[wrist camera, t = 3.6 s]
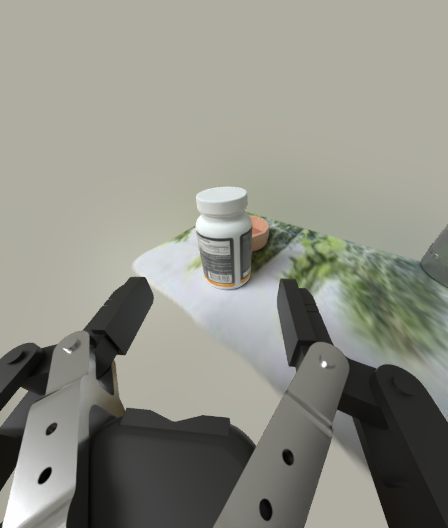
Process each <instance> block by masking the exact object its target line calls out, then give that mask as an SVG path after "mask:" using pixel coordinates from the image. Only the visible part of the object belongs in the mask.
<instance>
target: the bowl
mask: <svg viewBox="0 0 448 528" xmlns="http://www.w3.org/2000/svg"><path fill="white" fill-rule="evenodd" d="M249 216H250V215H249ZM250 218H251V220H252V252H255V251H257V250H260V249H261V248H263V247H264V246H265V245H266V243H267V239H268V236H269V225H268V223H267V221H266V220H264V219H262V218H259V217H257V216H250Z"/></svg>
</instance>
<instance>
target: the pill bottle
mask: <svg viewBox="0 0 448 528" xmlns="http://www.w3.org/2000/svg"><path fill="white" fill-rule="evenodd" d="M196 201H197V208H198V210H199V212H200V213H201V216H199V218H198V219H197V222H196V232H197V238H198V243H199V248H200V254H201V259H202V264H203V270H204V275H205V278H206V280H207V282H208V283H209V284H210V285H212V286H213V287H215V288H218V289H224V290H228V289H235V288H238V287H240V286H242V285H243V284H245V283H246V282H247V281H248V279H249V278H250V274H251V256H252V220H251V218H250V216H249V215H248V214H247V213H246V212H245V209H246V207H247V203H248V202H247V192H246V190H244V189H242V188H238V187H217V188H212V189H207V190H204V191H202V192H200V193H198V194H197V196H196Z"/></svg>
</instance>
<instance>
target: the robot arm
mask: <svg viewBox="0 0 448 528" xmlns="http://www.w3.org/2000/svg"><path fill="white" fill-rule="evenodd" d="M421 265H422V268H423V269H424V270H425V271H426V273H428V274H429V275H430V276H431V277H432V278H434V279H435V280H437V281H438V282H440V283H441V284H443V285H445V286H447V287H448V224H447V226H446V227H445V229H444V230H443V231H442V233H441V234H440V235H439V237H438V238H437V239H436V240H435V242H434V243H432V245H431V246H430V248H429V249H428V251H427V252H426V254H425V255H424V256H423V258H422V259H421ZM153 299H154V297H153V293H152V291H151V288H150V286H149V284H148V282H147V279H146V278H145V277H130V278H129V279H128V281H127V282H126V283H125V284H124V285H122V286H121V287H119V288H118V289H117V290H115V292H113V294H112V295H111V296H110V297H109V300H107V301H106V302H105V304H104V306H102V307H101V308H100V310H99V311H98V312H97V313H96V315H95V316H94V317H93V319H92V320H91V321H90V322H89V323H88V325H87V326H86V327H85V328H84V329H83V331H78V332H74V333H72V334H70V335H68V336H67V337H65V338H64V339H63V340H62V341H60V343H58V344H57V345H52V346H48V347H45V348H40V347H39V346H37V345H36V344H34V343H26V344H22V345H20V346H18V347H16V348H14V349H12V350H11V351H9V352H8V353H7V354H6V355H4V356H3V357H2V358H1V359H0V411H1V410H2V408H3V407H4V406H5V405H6V404H7V402H8V401H9V400H10V399H11V397H12V396H13V395H14V394H15V393H16V391H17V390H18V389H19V388H20V387H22V388H24V389H26V390H28V392H27V394H26V395H25V396H24V397H23V399H22V400H21V401H20V403H19V404H18V405H17V407H16V408H15V409H14V410H13V412H12V413H11V414H10V416H9V417H8V418H7V419H6V421H5V422H4V423H3V425H2V426H1V427H0V491H1V489H2V488H3V486H4V484H5V483H6V481H7V480H8V478H9V477H10V475H11V474H12V472H13V471H14V469H15V467H16V471H15V475H14V479H13V483H12V488H11V492H10V496H9V501H8V505H7V509H6V514H5V518H4V521H3V522H2V523H1V524H0V528H304V526H305V523H306V520H307V516H308V513H309V510H310V507H311V504H312V500H313V497H314V494H315V490H316V488H317V484H318V481H319V478H320V475H321V472H322V468H323V465H324V462H325V459H326V456H327V452H328V449H329V446H330V443H331V439H332V434H333V429H332V422H333V419H334V416H335V413H336V410H339V411H341V412H344V413H346V414H348V415H350V416H352V418H353V421H354V424H355V427H356V430H357V433H358V436H359V439H360V442H361V445H362V448H363V451H364V454H365V457H366V460H367V463H368V466H369V469H370V472H371V475H372V478H373V481H374V484H375V487H376V490H377V493H378V497H379V500H380V503H381V506H382V508H383V512H384V515H385V518H386V521H387V524H388V527H389V528H448V422H447V421H446V419H445V418H444V416H443V415H442V413H441V412H440V410H439V408H438V407H437V405H436V404H435V402H434V401H433V399H432V398H431V396H430V395H429V393H428V391H427V390H426V388H425V387H424V386H423V385H422V383H421V382H420V381H419V380H418V379H417V378H416V377H414V376H413V375H412V374H411V373H409V372H408V371H406V370H404V369H402V368H400V367H398V366H394V365H388V364H386V365H382V366H380V367H379V368H378V369H376V368H373V367H370V366H368V365H365V364H362V363H359V362H356V361H354V360H351V359H349V358H347V357H346V356H345V355H344V354H343V353H342V352H341V351H340V350H339V349H338V348H336V347H335V346H334V345H333V343H332V341H331V339H330V336H329V334H328V332H327V329H326V327H325V324H324V322H323V320H322V317H321V315H320V313H319V310H318V308H317V306H316V303H315V300H314V298H313V296H312V295H311V294H310V293H309V291H308V290H307V289H306V288H299V287H298V284H297V282H296V279H280V284H279V290H278V296H277V308H278V313H279V318H280V323H281V329H282V334H283V339H284V344H285V350H286V355H287V360H288V365H289V366H292V367H296V372H297V373H296V375H295V376H294V378H293V380H292V382H291V384H290V386H289V388H288V389H287V391H286V392H285V394H284V396H283V398H282V399H281V401H280V403H279V405H278V407H277V409H276V411H275V413H274V415H273V416H272V418H271V420H270V422H269V424H268V426H267V428H266V429H265V431H264V433H263V435H262V437H261V439H260V441H259V443H258V444H257V446H256V445H255V444H254V443H253V441H252V440H251V439H250V438H249V437H248V436H247V435H246V434H245V433H244V432H243V431H241V430H240V429H239V428H237V427H235V426H233V425H231V424H230V419H229V418H225V417H214V416H204V415H202V416H198V417H194V418H190V419H186V420H182V421H177V422H173V421H170V420H169V419H167V418H165V417H163V416H161V415H159V414H157V413H155V412H153V411H151V410H144V409H134V408H126V411H125V409H124V407H123V405H122V403H121V400H120V398H119V391H118V382H117V374H116V364H115V361H114V358H115V356H116V355H126V353H127V351H128V349H129V347H130V345H131V343H132V342H133V340H134V338H135V336H136V334H137V332H138V330H139V328H140V326H141V324H142V322H143V321H144V319H145V317H146V315H147V313H148V311H149V309H150V307H151V306H152V304H153Z"/></svg>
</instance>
